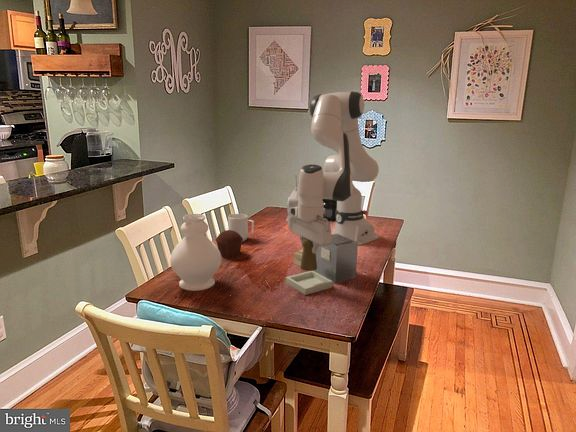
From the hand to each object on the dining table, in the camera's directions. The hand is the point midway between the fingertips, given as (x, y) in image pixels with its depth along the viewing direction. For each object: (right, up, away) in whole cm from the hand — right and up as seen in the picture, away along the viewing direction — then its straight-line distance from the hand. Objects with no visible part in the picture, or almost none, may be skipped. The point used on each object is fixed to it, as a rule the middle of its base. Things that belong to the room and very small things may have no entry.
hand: (309, 250), depth 168 cm
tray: (0, -13, +4) cm, 13 cm away
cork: (0, -6, +2) cm, 7 cm away
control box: (+10, -10, +13) cm, 19 cm away
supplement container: (+15, +10, +88) cm, 89 cm away
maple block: (-2, -7, +23) cm, 24 cm away
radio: (-4, +8, +79) cm, 80 cm away
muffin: (-32, -4, +34) cm, 47 cm away
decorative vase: (-40, -12, +4) cm, 42 cm away
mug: (-29, +1, +52) cm, 60 cm away
